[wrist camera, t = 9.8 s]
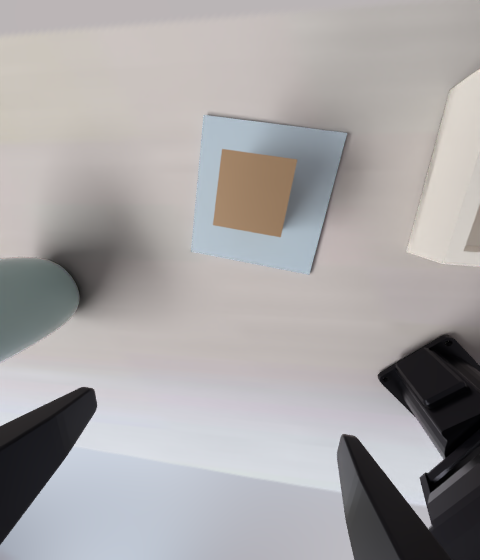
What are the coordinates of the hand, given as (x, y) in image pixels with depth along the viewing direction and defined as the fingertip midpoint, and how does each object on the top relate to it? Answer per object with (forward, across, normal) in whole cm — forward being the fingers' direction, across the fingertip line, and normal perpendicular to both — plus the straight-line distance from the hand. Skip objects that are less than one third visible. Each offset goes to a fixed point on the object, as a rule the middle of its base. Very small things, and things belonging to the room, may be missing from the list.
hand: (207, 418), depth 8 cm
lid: (+13, 0, -8) cm, 15 cm away
